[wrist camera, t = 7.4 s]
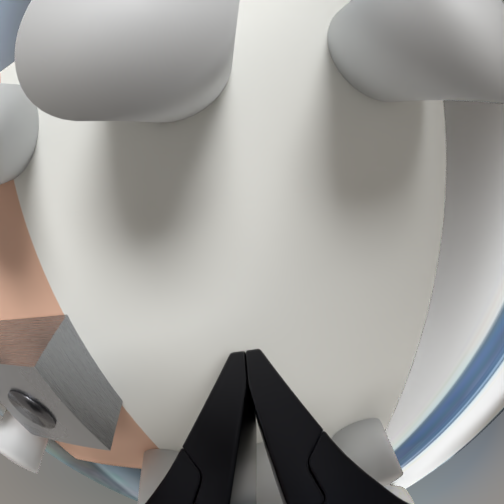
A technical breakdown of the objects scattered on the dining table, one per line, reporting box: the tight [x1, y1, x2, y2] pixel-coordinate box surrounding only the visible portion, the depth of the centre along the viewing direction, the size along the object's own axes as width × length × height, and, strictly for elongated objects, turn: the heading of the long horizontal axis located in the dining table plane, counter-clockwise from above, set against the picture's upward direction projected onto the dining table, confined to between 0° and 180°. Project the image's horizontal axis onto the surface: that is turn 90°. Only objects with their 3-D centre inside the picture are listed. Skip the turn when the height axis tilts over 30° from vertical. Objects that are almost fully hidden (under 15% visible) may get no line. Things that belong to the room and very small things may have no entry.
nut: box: [0, 315, 123, 451], centre depth 7 cm, size 4×4×2 cm
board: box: [0, 0, 504, 504], centre depth 7 cm, size 20×20×4 cm
